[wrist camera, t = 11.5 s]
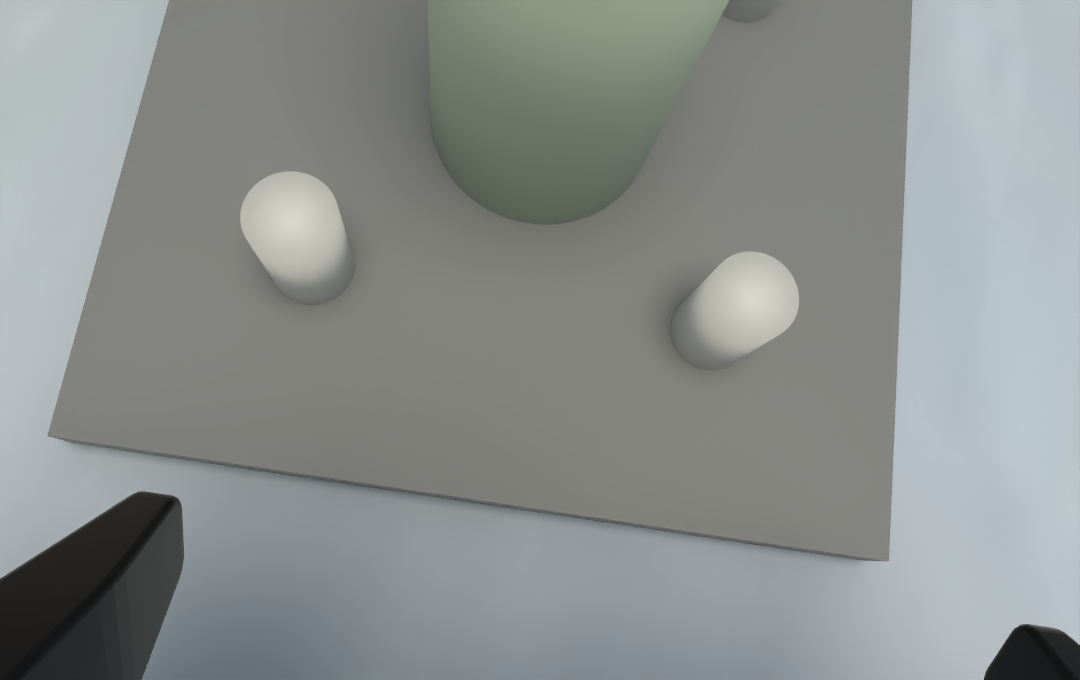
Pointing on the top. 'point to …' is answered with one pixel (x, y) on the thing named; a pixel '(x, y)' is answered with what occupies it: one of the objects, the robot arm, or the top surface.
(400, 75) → the peg board
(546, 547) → the top surface
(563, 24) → the post
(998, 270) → the top surface
